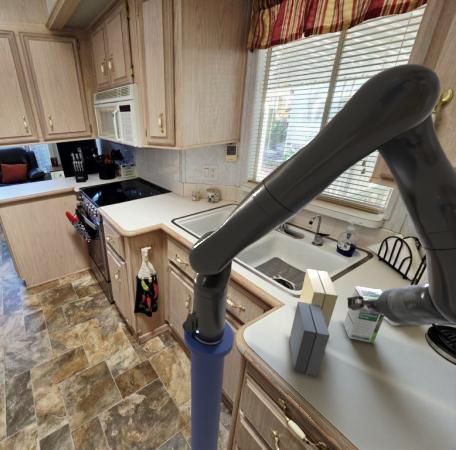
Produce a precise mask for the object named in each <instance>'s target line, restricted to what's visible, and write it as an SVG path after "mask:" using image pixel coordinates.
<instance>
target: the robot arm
mask: <svg viewBox="0 0 456 450" xmlns="http://www.w3.org/2000/svg"><path fill="white" fill-rule="evenodd" d="M441 86H442V85H441V80H440V78H439V75H438V74H437V72H436V71H435V70H434V69H433V68H431V67H429V66H427V65H424V64H420V63H404V64H398V65H395V66H391V67H388V68H386V69H383V70H381V71H380V72H377V73H376V74H374V75H373V76H371V77H370V78H369V79H367V80H366V81H365V82H364V83H362V84H361V85H360V87H359V88H358V89H357V90H356V91H355V93H353V95H351V97H350V98H349V99H348V100H347V102H346V103H345V104H344V105H343V106H342V107H341V108H340V109H339V110H338V112H337V113H336V114H335V115H334V116H333V117H332V118H331V119H330V120H329V122H327V123H326V124H325V126H324V127H322V129H321V130H320V131H319V132H318V133H317V134H316V135H315V136H314V137H312V138H311V139H310V140H309V141H308V142H307V143H306V144H305V145H303V146H302V147H301V148H300V149H298V150H297V151H296V152H294V153H293V154H292V155H290V156H289V157H287V158H286V159H285V160H284V161H282V163H280V164H279V165H278V166H277V167H276V168H275V169H273V170H272V171H271V172H269V174H268V175H266V176H265V177H264V178H263V179H262V180H261V181H260V182H259V183H258V184H256V185H255V186H254V187H253V188H252V189H251V190H250V191H249V192H248V193H247V194H246V195H245V196H244V197H243V199H242V200H241V201H240V202H239V203H238V204H237V205H236V207H235V208H234V209H233V210H232V212H231V213H230V214H229V215H228V216H227V218H226V219H225V220H224V221H223V222H222V223H221V224H220V226H219V227H218V228H216V229H215V230H210V231H207V232H205V233H204V234H203V235H201V237H200V238H198V240H196V242H195V243H194V244H193V245H192V246H191V249H190V251H189V253H188V263H189V265H190V267H191V270H193V271H194V272H195V274H194V277H193V307H192V309H191V310H192V311H191V313H187V317H186V318H185V321H184V322H183V323H182V329H183V332H184V331H186V333H187V334H189V333H190V332H191V333H192V337H194V338H196V339H197V340H198V341H199V342H200V343H202V344H205V345H210V346H211V345H217V344H219V343H220V342H222V340H223V339H224V334H225V332H224V331H225V321H226V315H227V314H226V313H227V304H228V303H227V301H228V289H229V288H228V287H229V283H230V280H231V276H232V266H233V260H234V259H235V258H237V256H238V255H240V254H241V253H242V252H243V251H245V250H246V249H248V248H249V247H250V246H252V245H253V244H255V243H257V242H258V241H260V240H261V239H263V238H264V237H266V236H267V235H269V234H270V233H272V232H273V231H274V230H277V229H278V228H279V227H281V226H282V225H283V224H285V223H286V222H287V221H289V220H291V219H292V218H293V217H295V216H296V215H298V214H299V213H300V212H302V210H304V209H305V208H306V207H307V206H308V205H310V204H311V203H312V202H314V200H316V199H317V198H318V197H319V196H320V195H322V193H324V192H325V191H326V190H327V189H328V188H329V187H330V186H331V185H332V184H333V183H334V182H335V181H336V180H337V179H338V178H340V177H341V176H342V175H343V174H344V173H346V172H347V171H348V170H350V169H351V168H352V167H354V166H355V165H356V164H358V163H359V162H362V160H364V159H365V158H367V157H369V156H370V155H371V154H373V153H375V152H376V151H377V152H378V153H379V155H380V156H381V158H382V160H383V162H384V163H385V165H386V166H387V168H388V171H389V173H390V174H391V176H392V179H393V181H394V184H395V186H396V188H397V191H398V193H399V196H400V198H401V201H402V204H403V207H404V210H405V212H406V214H407V217H408V219H409V223H411V226H412V228H413V230H414V233H415V234H416V236H417V238H418V241H419V243H420V245H421V246H422V248H423V251H424V253H425V258H426V259H425V261H426V273H427V282H423V283H419V284H409V285H408V284H407V285H404V286H399V287H394V288H393V287H392V288H389V289H386V290H383V291H382V292H383V293H382V294H381V295H380V296H379V297H377V298H364V299H363V297H362V296H355V297H352V296H350V297H347V298H346V300H347V308H350V309H352V310H364V311H365V312H369V313H378V314H382V315H384V316H385V317H387V318H388V319H389V320H391V321H393V322H395V323H398V324H403V325H404V326H406V325H407V326H409V325H412V326H413V325H414V326H428V325H429V326H430V325H435V324H454V325H456V168H455V167H454V165H453V163H452V162H451V161H450V159H449V157H448V156H447V153H446V152H445V150H444V148H443V147H442V144H441V142H440V140H439V136H438V134H437V132H436V128H435V124H434V119H433V115H432V112H434V110H435V108H436V106H437V105H438V103H439V99H440V96H441V91H442V90H441V89H442V87H441ZM371 308H372V309H374V310H371Z"/></svg>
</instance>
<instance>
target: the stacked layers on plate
mask: <svg viewBox="0 0 456 450" xmlns="http://www.w3.org/2000/svg"><path fill="white" fill-rule="evenodd" d="M383 320H385V321H386V322H387V323H389V324H390V325H391V326H392V327H395V326H402V325H404V324H398V323H395V322H393V321H391V320H389V319H388V318H387V317H385V316H384V318H383Z"/></svg>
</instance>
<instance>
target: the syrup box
mask: <svg viewBox="0 0 456 450" xmlns="http://www.w3.org/2000/svg"><path fill="white" fill-rule="evenodd" d="M383 292H384V291H382V289H380V288H379V289H378V288H377V289H375V288H370V287H363V286H357V285H355V286H354V290H353V293H352V296H351V297H355V296H362V297H363V299H364V298H377V297H379V296H380V295H381V294H382V293H383ZM347 308H348V307H347ZM371 310H374V309H372V308H371ZM346 311H347V312H346V314H345V318H344V321H343V327H344V330H345V332H346V334H347V336H348V339H351V340H355V341H356V340H357V341H361V342H365V343H366V342H367V343H371V344H374V342H375V340H376V337H377V335H378V333H379V330H380V328H381V326H382V323H383V321H384V315H382V314H378V313H369V312H365V311H364V310H352V309H350V308H348V309H347V310H346Z"/></svg>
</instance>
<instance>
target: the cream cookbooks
mask: <svg viewBox="0 0 456 450" xmlns="http://www.w3.org/2000/svg"><path fill="white" fill-rule="evenodd" d="M338 297H339V295H338V292H337V290H336V288H335V286H334V283H333V281H332V279H331V276H330V274H329V272H328V271H325V270H317V269H309V268H306V270H305V275H304V279H303V283H302V288H301V292H300V296H299V301H298V302H304V303H308V304H309V303H310V304H316V305H320V308H321V311H322V314H323V317H324V320H325V323H326V326H327V329H328V330H329V326H330V323H331V320H332V317H333V313H334V310H335V307H336V303H337V300H338Z"/></svg>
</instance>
